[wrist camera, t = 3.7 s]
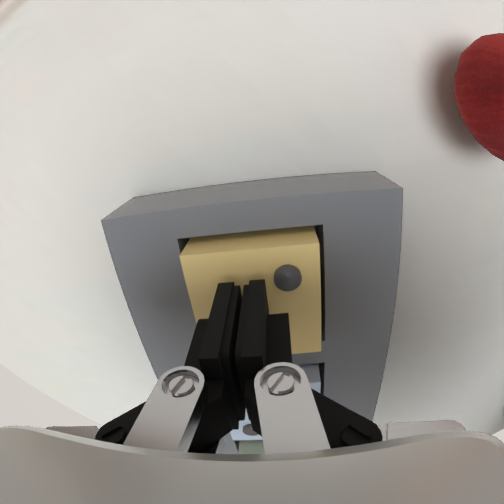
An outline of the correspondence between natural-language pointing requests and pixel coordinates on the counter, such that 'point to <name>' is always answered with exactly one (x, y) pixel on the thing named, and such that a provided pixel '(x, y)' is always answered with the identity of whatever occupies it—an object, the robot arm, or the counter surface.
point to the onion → (483, 91)
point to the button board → (263, 218)
